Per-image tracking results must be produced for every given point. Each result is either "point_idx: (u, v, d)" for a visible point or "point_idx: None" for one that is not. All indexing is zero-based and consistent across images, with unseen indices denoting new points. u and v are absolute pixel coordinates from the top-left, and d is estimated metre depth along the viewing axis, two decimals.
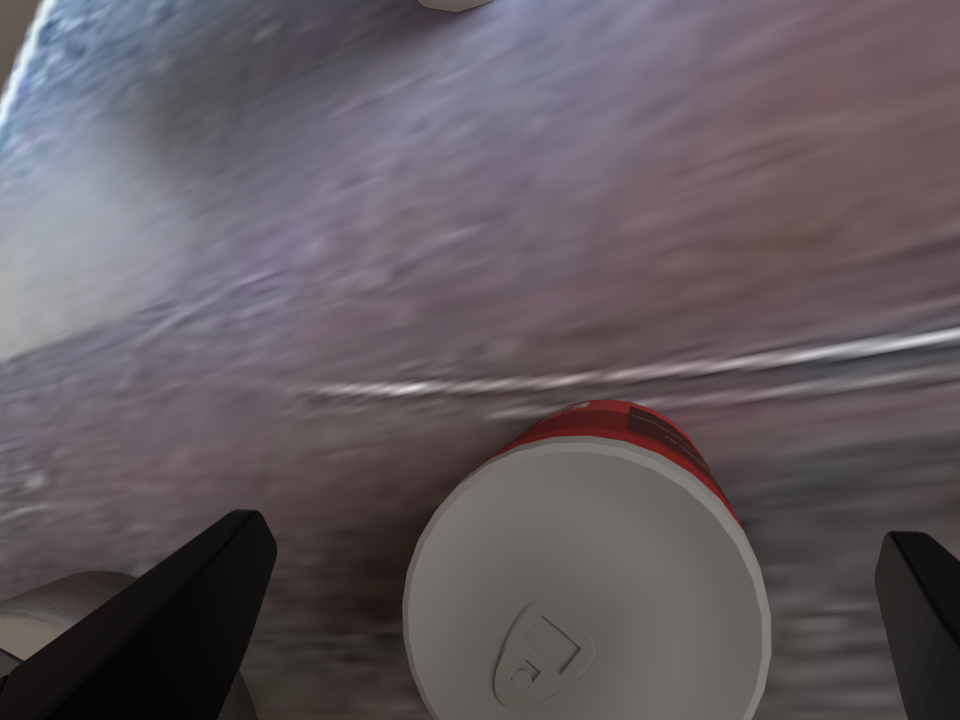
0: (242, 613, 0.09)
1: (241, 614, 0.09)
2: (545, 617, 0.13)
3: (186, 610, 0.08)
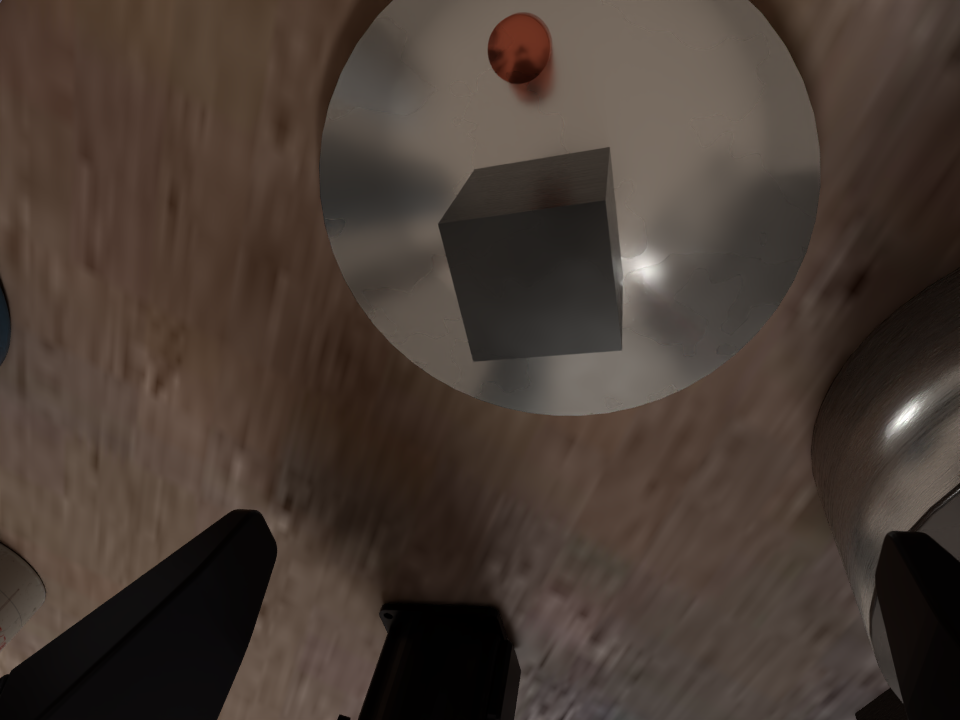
0: (242, 613, 0.09)
1: (241, 614, 0.09)
2: None
3: (186, 611, 0.08)
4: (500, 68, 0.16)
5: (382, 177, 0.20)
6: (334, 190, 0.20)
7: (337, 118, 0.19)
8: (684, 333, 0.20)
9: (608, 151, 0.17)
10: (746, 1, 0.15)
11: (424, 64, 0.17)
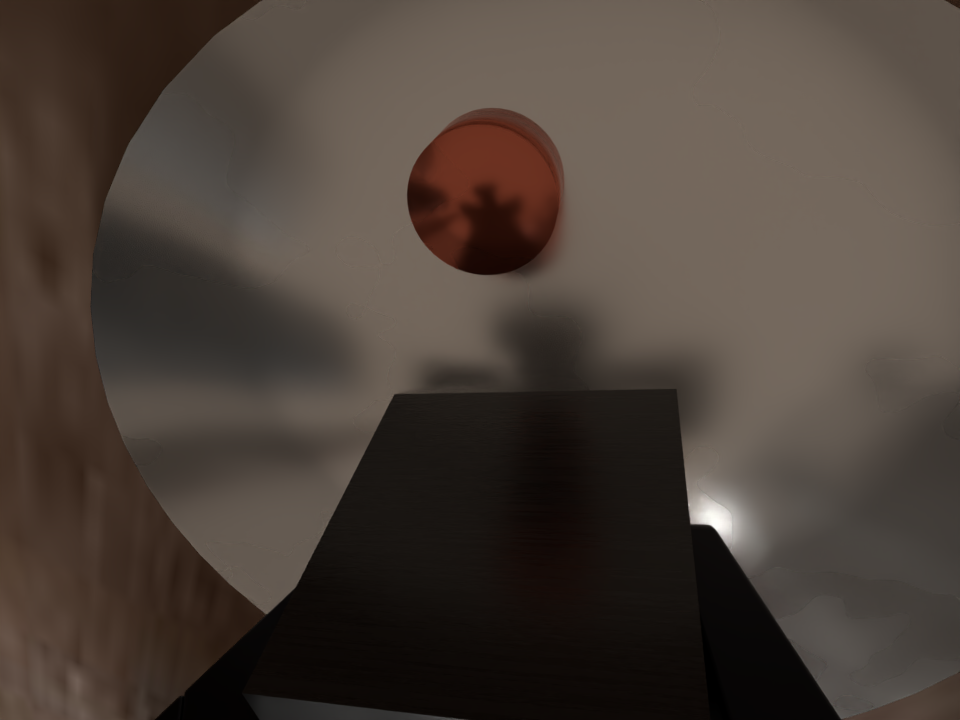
0: None
1: None
2: None
3: None
4: (439, 239, 0.07)
5: (215, 387, 0.10)
6: (131, 396, 0.10)
7: (114, 281, 0.09)
8: None
9: (676, 410, 0.08)
10: None
11: (277, 198, 0.08)
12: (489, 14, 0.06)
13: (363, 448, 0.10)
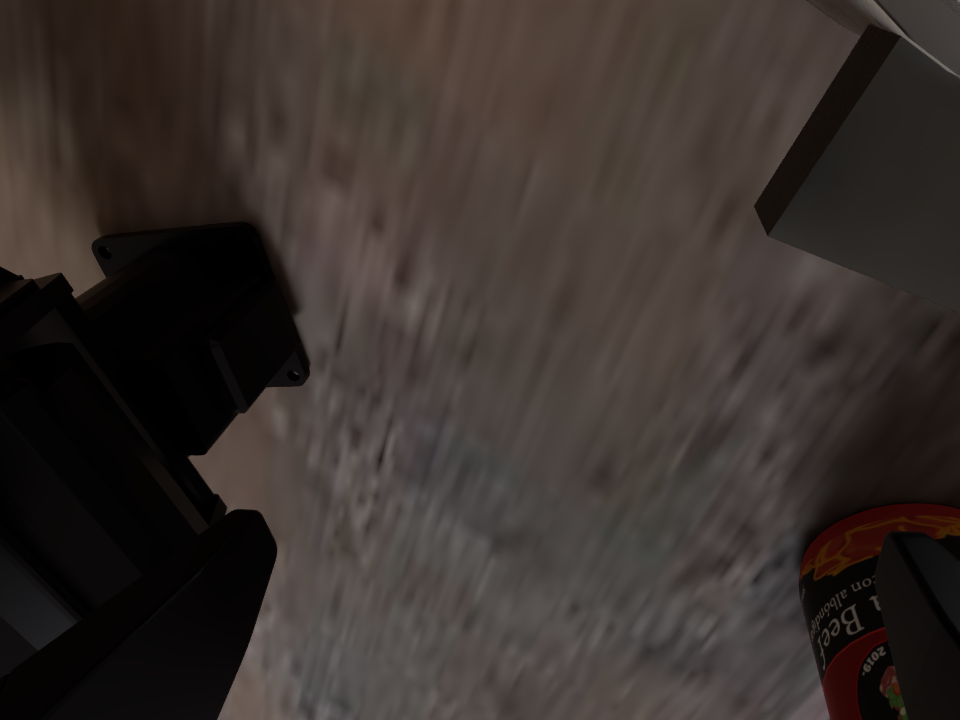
0: (242, 613, 0.09)
1: (241, 613, 0.09)
2: None
3: (186, 610, 0.08)
4: None
5: None
6: None
7: None
8: None
9: None
10: None
11: None
12: None
13: None
